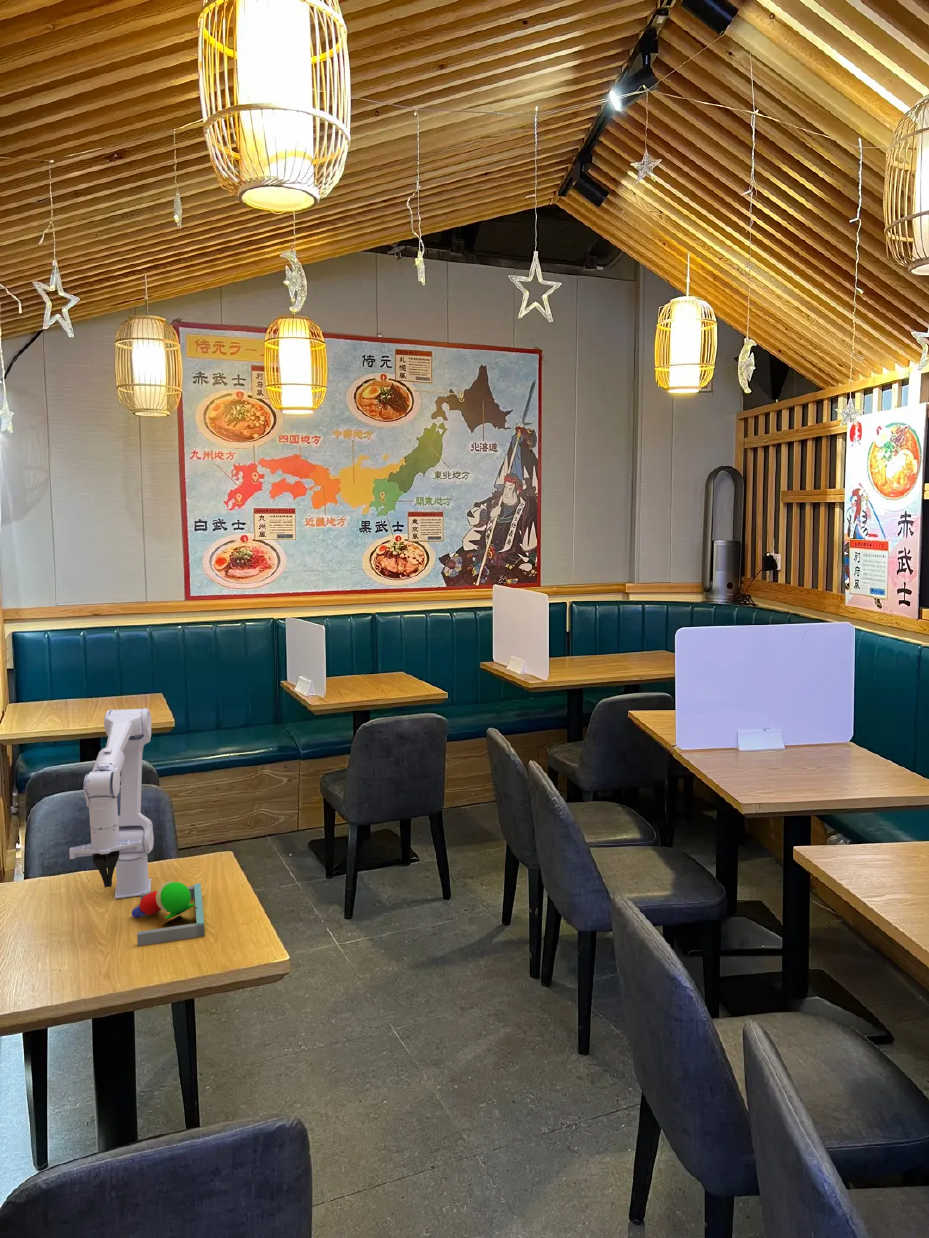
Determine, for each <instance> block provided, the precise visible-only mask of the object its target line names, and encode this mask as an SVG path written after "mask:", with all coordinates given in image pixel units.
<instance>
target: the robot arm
mask: <svg viewBox="0 0 929 1238" xmlns="http://www.w3.org/2000/svg"><path fill="white" fill-rule="evenodd" d="M151 714H152V713H151V712H150V710H149V709H148V708H147V707H144V708H133V709H131V708H130V709H128V708H127V709H108V710H107V711H106V713H105V714H104V718H103V727H104V731H105V732H104V733H106V736H107V741H106V745H105V747H104V748H102V749H101V750H100V751H99V752H98V755H97V757H96V759H95V763H94V766H93V767H92V771H89V773H86V774H85V776H84V779H83V795H84V797H85V802H86V807H87V808H88V810H89V826H90V842H91V843H87V844H83V845H78V846H74V847H73V846H72V847H70V848H69V852H68V853H69V860H74V859H76V858H83V857H90V856H92V862H93V864H94V866H95V867H96V869H97V870H98V872H99V874H100V876H101V879H102V881H103V886H104V887H103V888H112V886H113V875H114V871H115V874H116V886H115V891H114V899H124V898H132V897H138V896H139V897H140V893H146V892H152V891H151V890H152V889H151V888H152V878H149V863H148V854H150V853H151V851H153V849H154V843H155V841H154V839H155V837H154V830H153V828H154V827H153V822H152V820H151V819H150V818H148V817H147V816H145V815H144V814H143V813H141V812H142V776H143V775H142V774H143V752H144V747H145V745H146V744H148V743H150V742H151V737H152V715H151ZM119 794H120V801H119V802H120V806H119V807H120V811H119V809H118V795H119ZM137 826H141V827H137ZM123 827H125V828H123ZM126 827H127V828H126ZM128 827H129V828H128Z"/></svg>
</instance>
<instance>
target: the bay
mask: <svg viewBox="0 0 929 1238" xmlns="http://www.w3.org/2000/svg"><path fill="white" fill-rule="evenodd" d="M187 888H188V889H189V891H190V894H191V900H194V909H195V920H196V922H195V923H189V924H182V925H174V926H169V927H167V926H166V927H161V928H160V927H159V928H153V929H148V930H141V931H137V932H136V939H137V941H136V942H137V947H142V946H149V945H157V944H161V943H169V942H175V941H180V940H181V941H182V940H188V939H189V940H190V939H194V938H195V939H196V938H201V937H205V935H206V934H205V920H204V919H205V918H204V916H205V915H204V907H203V906H204V905H203V895H202V885H201V883H199V882H198V883H194V884H193V885H191V886H187ZM154 891H155V890H154ZM154 891H151V892H154ZM151 892H146V893H140V896H139V898H140V901H141V900H142V898H143V897H144V896H145V895H147V894H149V893H151Z"/></svg>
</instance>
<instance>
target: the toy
mask: <svg viewBox="0 0 929 1238" xmlns="http://www.w3.org/2000/svg"><path fill="white" fill-rule="evenodd" d="M187 887H188V886H187V885H185V884H184V883H182V882H178V881H177V882H176V881H172V880H170V881H165V882H164V883H163V884H161V885H160V886H159V887H158V889H157V890H154V892H153V891H151V893H149V894H147V895H145V896H144V897H143V898H142V900H140V902H139V905H138V906H136V907H134V908H133V909H132V910H131V916H132V917H133V918H135V919H138V918H141V917H144V916H145V915H147V916H151V915H155V914H158V913H159V912H160V911H164V912H166V913H169V914H168V915H166V916H165V919H166V920H167V919H168V920H169V919H170V920H169V921H167V923H169V922H171V921H173V920H175V919H176V918H179V917H181V916H182V915H184V914H187V913H188V912H189V911H192V910H194V909H195V902H194V903H191V900H192V899H191V894H190V891H189V889H188V888H187ZM193 907H194V908H193ZM171 918H172V919H171Z"/></svg>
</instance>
